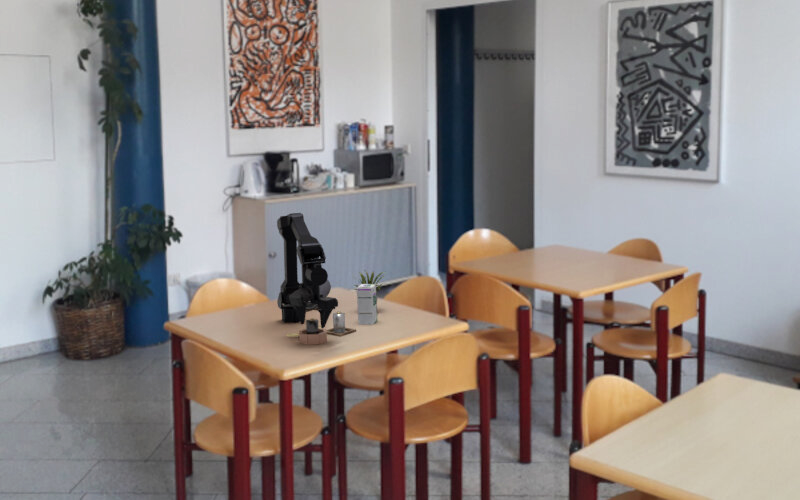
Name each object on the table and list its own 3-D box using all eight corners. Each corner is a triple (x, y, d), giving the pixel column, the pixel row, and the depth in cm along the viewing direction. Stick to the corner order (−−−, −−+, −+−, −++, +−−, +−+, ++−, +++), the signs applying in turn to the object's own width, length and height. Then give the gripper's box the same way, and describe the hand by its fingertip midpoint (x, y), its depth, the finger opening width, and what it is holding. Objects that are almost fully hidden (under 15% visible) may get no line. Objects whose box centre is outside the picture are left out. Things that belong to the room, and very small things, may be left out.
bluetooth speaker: (310, 299, 365) (309, 275, 363) (332, 299, 364) (331, 275, 362) (296, 312, 343) (294, 286, 341) (320, 312, 341) (319, 286, 340)
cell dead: (304, 341, 297) (303, 319, 296) (312, 339, 300) (311, 317, 299) (313, 343, 295) (312, 320, 294) (321, 341, 298) (320, 318, 297)
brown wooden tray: (323, 336, 306) (322, 331, 306) (338, 331, 312) (338, 326, 312) (340, 339, 301) (340, 334, 301) (356, 334, 307) (356, 329, 307)
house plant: (398, 309, 342) (397, 267, 340) (378, 317, 331) (376, 273, 328) (367, 306, 350) (366, 264, 347) (346, 313, 338) (344, 270, 336)
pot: (293, 344, 297) (293, 332, 296) (312, 338, 304) (312, 326, 303) (313, 348, 291) (313, 336, 290) (332, 342, 298) (332, 330, 297)
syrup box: (374, 327, 316) (372, 287, 314) (357, 327, 318) (356, 286, 315) (377, 323, 322) (376, 283, 320) (361, 323, 323) (360, 283, 321)
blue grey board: (279, 338, 305) (278, 333, 305) (315, 327, 319) (315, 322, 319) (295, 341, 300) (295, 336, 300) (332, 330, 314) (332, 325, 314)
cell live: (331, 334, 306) (330, 312, 305) (339, 331, 309) (338, 310, 308) (339, 335, 304) (339, 313, 303) (347, 333, 307) (347, 311, 306)
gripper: (272, 280, 295) (275, 327, 297) (314, 287, 283) (316, 335, 286) (297, 275, 303) (299, 320, 306) (338, 281, 292) (340, 328, 294)
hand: (312, 326), depth 298 cm, fingers open, 9 cm apart
